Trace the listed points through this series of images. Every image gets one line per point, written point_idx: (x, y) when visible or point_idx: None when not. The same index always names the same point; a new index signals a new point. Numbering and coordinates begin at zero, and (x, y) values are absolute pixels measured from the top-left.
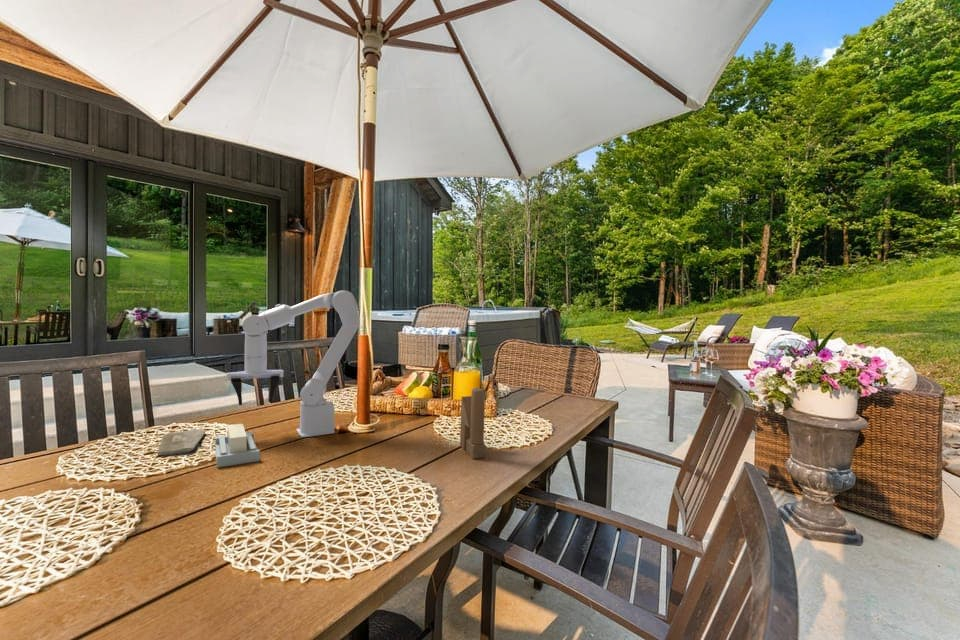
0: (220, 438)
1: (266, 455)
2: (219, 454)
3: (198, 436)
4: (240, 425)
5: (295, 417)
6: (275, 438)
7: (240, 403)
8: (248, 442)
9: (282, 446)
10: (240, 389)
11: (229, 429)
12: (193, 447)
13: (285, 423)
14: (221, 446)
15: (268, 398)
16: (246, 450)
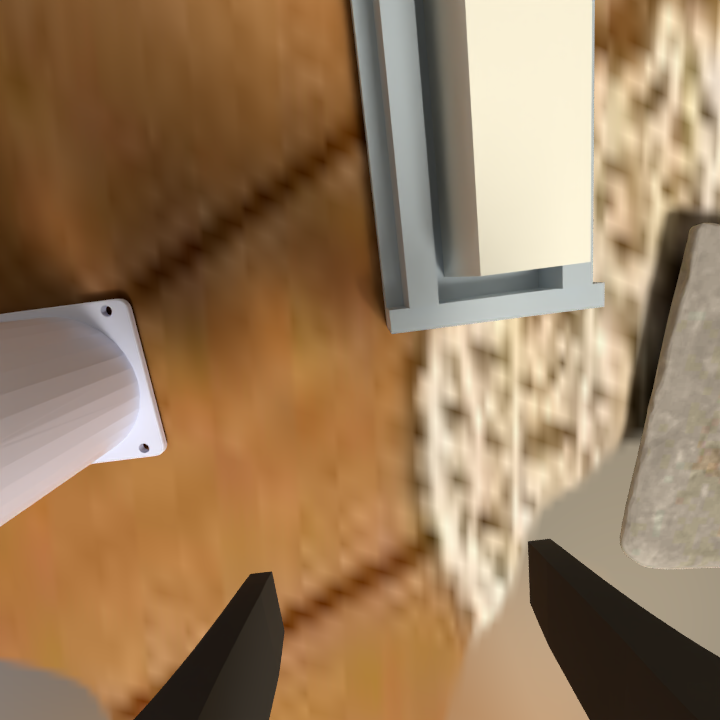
0: None
1: (308, 32)
2: None
3: (663, 438)
4: (498, 217)
5: None
6: (274, 346)
7: (551, 549)
8: (418, 59)
9: (228, 179)
10: (710, 713)
11: (584, 113)
12: (700, 227)
13: None
14: None
15: (276, 653)
16: (421, 84)
